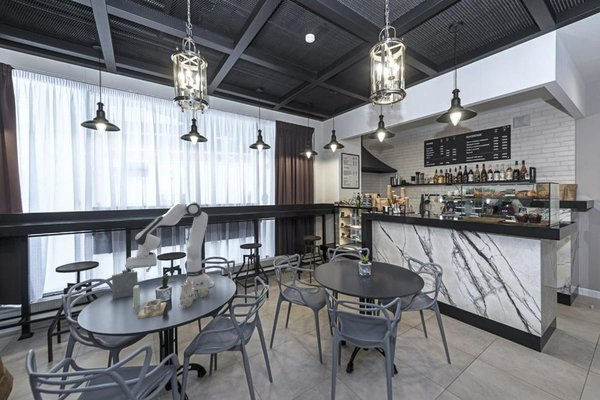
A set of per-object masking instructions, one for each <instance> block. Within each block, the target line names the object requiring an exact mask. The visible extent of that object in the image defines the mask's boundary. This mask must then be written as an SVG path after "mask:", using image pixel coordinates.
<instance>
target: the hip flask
mask: <svg viewBox="0 0 600 400" xmlns="http://www.w3.org/2000/svg"><path fill="white" fill-rule="evenodd" d="M128 270H129V269H123V270H121V273H116V274H112V275H111V284H112V285H111V287H112V288H111V289H112V292H111V293H112V299H113V300H115V299H118V298H124V297H129V296H130V297H131V296H133V288H134V287H135V286H136V285H139V284H138V283H139V282H138V281H139V280H138V271H134V273H131V271H128Z"/></svg>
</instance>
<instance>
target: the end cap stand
mask: <svg viewBox="0 0 600 400" xmlns="http://www.w3.org/2000/svg"><path fill="white" fill-rule="evenodd" d="M166 307H167V302H165V301H164V302H162V299H161V298H159V299H152V300H151V299H150V300H147V301H146V303H145V305H143V306H142V308H141V309H140V312H139V313H138V314H137V319H144V318H150V317H156V316H163V314H164V312H165V309H166Z"/></svg>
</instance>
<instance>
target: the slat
mask: <svg viewBox="0 0 600 400" xmlns="http://www.w3.org/2000/svg"><path fill="white" fill-rule="evenodd" d="M140 290H141V289H140V284H138V285H136V286H135V287H134V288H133V295H132V296H133V297H132V299H133V309H137V308H139V307H140V304H141V299H140V298H141V297H140V293H141V291H140Z"/></svg>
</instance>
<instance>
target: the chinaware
mask: <svg viewBox="0 0 600 400" xmlns="http://www.w3.org/2000/svg"><path fill="white" fill-rule="evenodd" d="M193 282H194V288H195V285H196V283H195V281H190V280H189V279H187V278H186V281H184V282H183V284H182V285H181V291H180V298H179V300H180V301H179V304H178V306H177V307H178V308H179V309H181V308H182V309H188V308H190V306H191V305H192V304H193V302H195V301H196V297H197V294H196V292H195V291H194V290H193V289H194V288H192V283H193ZM210 290H211V289H210V288H204V289H199V290H196V291H197V293H198V294H199V297H201V298H202V299H204V298H206V297H207V296H208V294H209V292H210ZM180 305H181V307H180Z"/></svg>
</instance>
